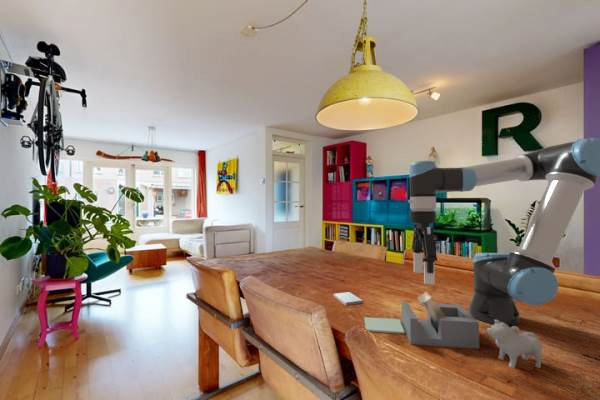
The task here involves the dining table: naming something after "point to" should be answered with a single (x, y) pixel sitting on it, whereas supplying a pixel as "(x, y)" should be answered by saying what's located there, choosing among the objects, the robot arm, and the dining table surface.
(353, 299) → the hard drive
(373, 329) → the mat
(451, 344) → the dock
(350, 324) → the dining table surface
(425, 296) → the tile
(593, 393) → the dining table surface
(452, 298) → the dining table surface
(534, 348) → the animal figurine
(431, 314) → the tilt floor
